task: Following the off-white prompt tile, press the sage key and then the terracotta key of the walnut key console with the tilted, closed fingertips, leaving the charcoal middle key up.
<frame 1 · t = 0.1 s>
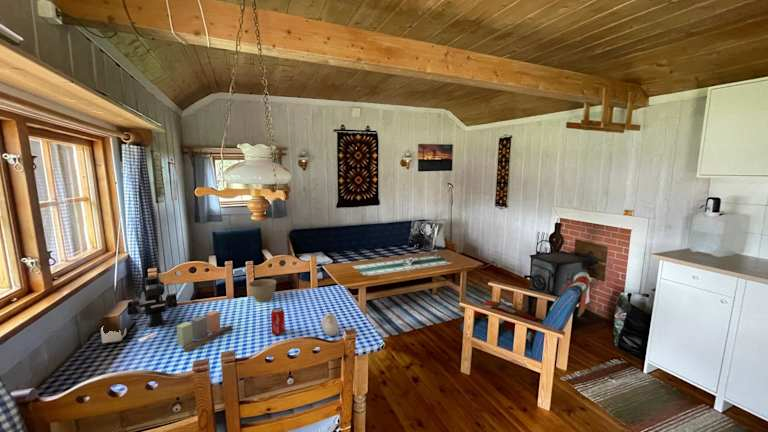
hand: (152, 310, 143), 17 cm above the table, tool horizontal, fingers open, 9 cm apart
key sage: (185, 334, 144), point 6 cm above the table, slide at 0.0 cm
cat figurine: (330, 332, 159), on the table
prompt tile: (153, 340, 149), on the table
key console: (200, 338, 151), on the table
soda can: (278, 333, 157), on the table
key terracotta: (213, 321, 156), point 6 cm above the table, slide at 0.0 cm
key grey: (199, 327, 150), point 6 cm above the table, slide at 0.0 cm
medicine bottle: (114, 339, 150), on the table
planter bowl: (263, 299, 200), on the table
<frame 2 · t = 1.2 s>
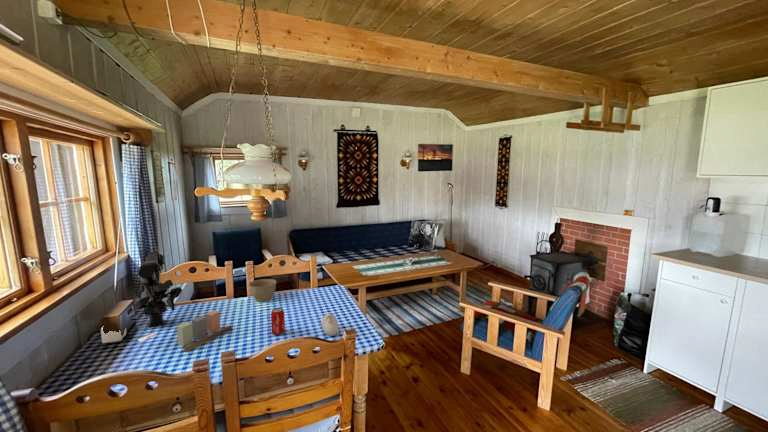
hand: (168, 312, 148), 14 cm above the table, tool tilted 45°, fingers open, 5 cm apart
nothing on the table moved.
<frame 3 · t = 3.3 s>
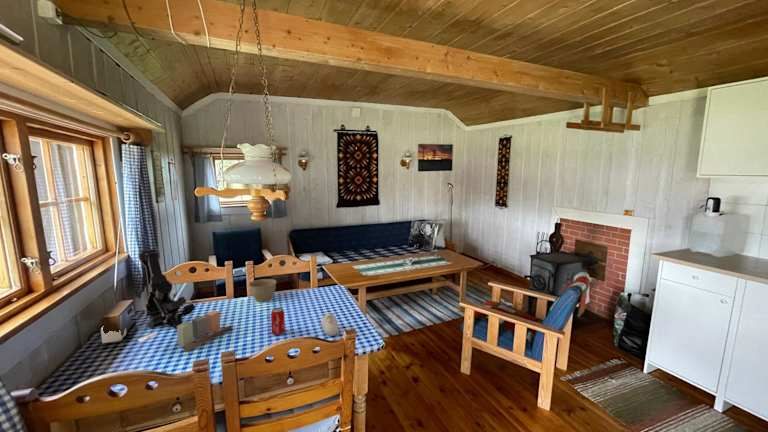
hand: (181, 330, 144), 7 cm above the table, tool tilted 45°, fingers closed, pressing on key sage
key sage: (185, 334, 144), point 6 cm above the table, slide at 0.1 cm, touching gripper
everything else where it was.
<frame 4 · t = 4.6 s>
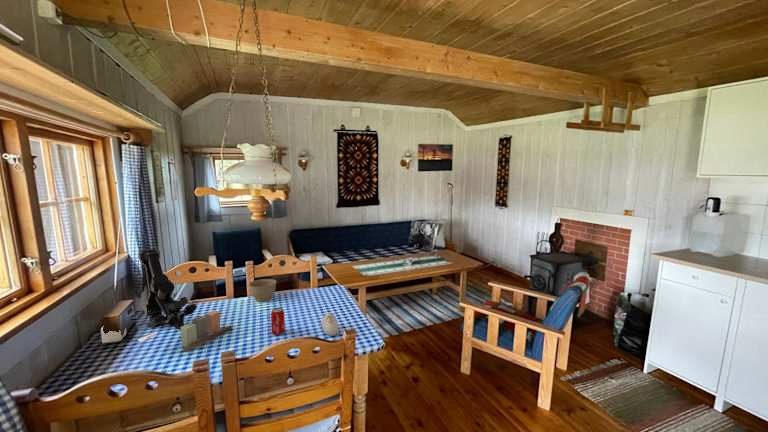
hand: (183, 330, 144), 7 cm above the table, tool tilted 45°, fingers closed
key sage: (188, 335, 143), point 6 cm above the table, slide at 2.7 cm
everything else where it was.
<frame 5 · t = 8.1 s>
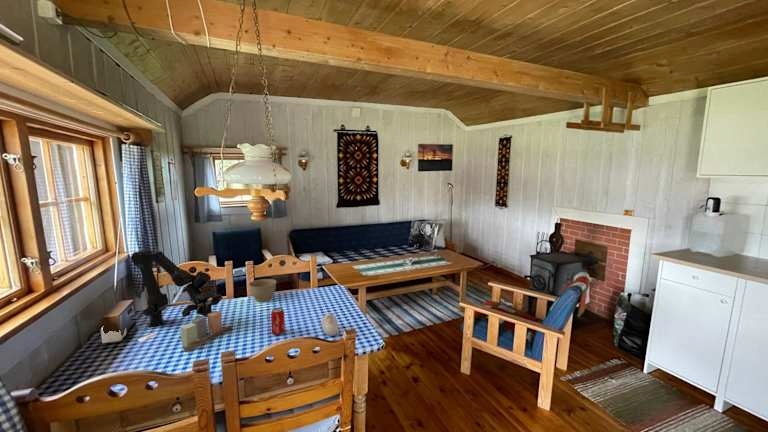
hand: (211, 318, 157), 7 cm above the table, tool tilted 45°, fingers closed, pressing on key terracotta
key terracotta: (214, 322, 156), point 6 cm above the table, slide at 1.3 cm, touching gripper
everything else where it was.
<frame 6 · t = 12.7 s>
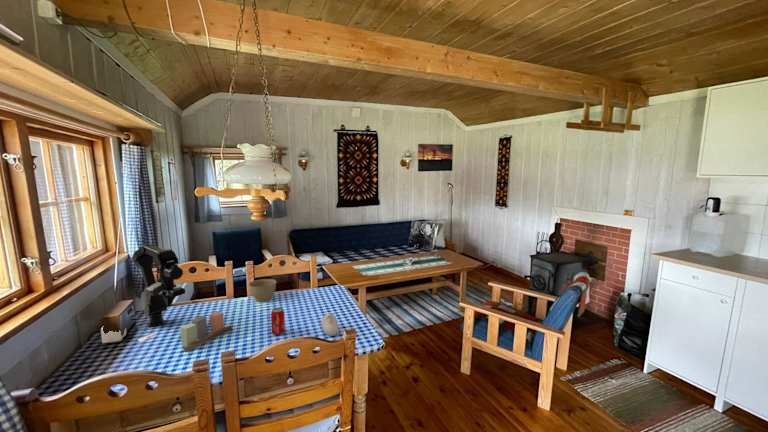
hand: (168, 306, 156), 13 cm above the table, tool pointing down, fingers closed
key terracotta: (216, 322, 155), point 6 cm above the table, slide at 2.7 cm
everything else where it was.
at the end: key sage slide at 2.7 cm; key terracotta slide at 2.7 cm; key grey slide at 0.0 cm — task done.
